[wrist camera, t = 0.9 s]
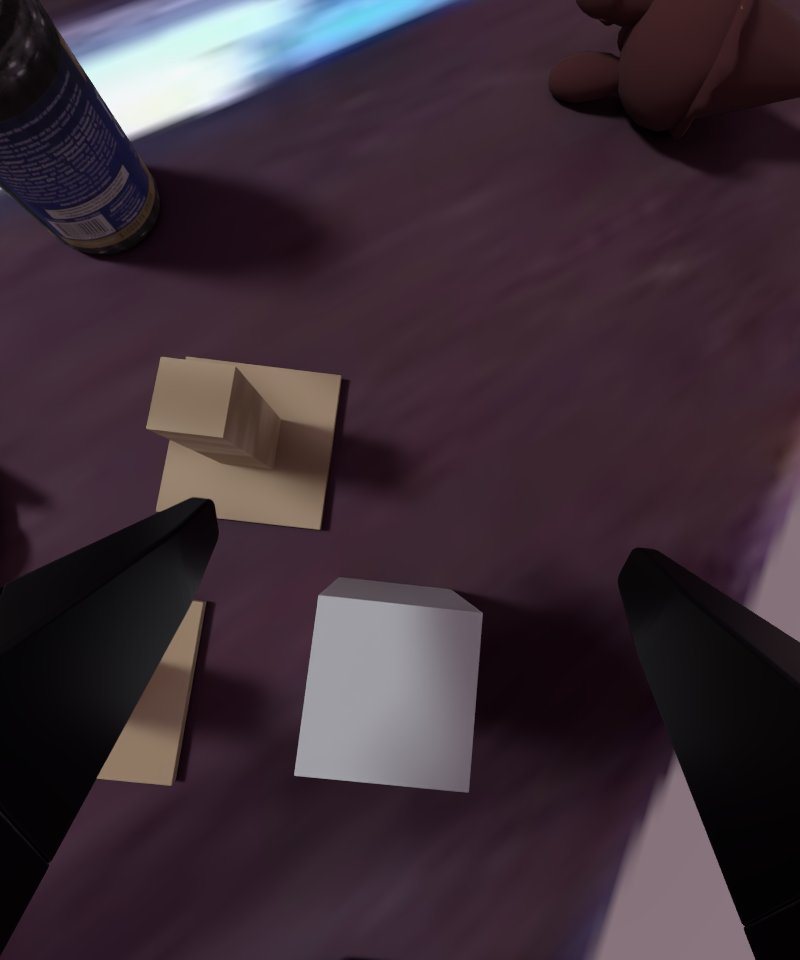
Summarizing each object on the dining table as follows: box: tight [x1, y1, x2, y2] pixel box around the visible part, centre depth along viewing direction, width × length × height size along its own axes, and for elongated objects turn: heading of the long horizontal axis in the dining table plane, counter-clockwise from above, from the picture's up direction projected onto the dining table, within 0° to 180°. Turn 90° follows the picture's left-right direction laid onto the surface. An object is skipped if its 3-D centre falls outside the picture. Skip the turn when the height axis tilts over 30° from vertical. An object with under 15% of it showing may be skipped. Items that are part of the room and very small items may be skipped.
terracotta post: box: [97, 599, 207, 786], centre depth 16 cm, size 8×8×7 cm
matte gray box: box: [294, 577, 483, 793], centre depth 17 cm, size 6×6×7 cm
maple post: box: [146, 357, 342, 530], centre depth 18 cm, size 8×8×7 cm
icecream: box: [549, 0, 800, 140], centre depth 22 cm, size 7×7×15 cm
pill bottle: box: [0, 0, 160, 254], centre depth 17 cm, size 6×6×11 cm
